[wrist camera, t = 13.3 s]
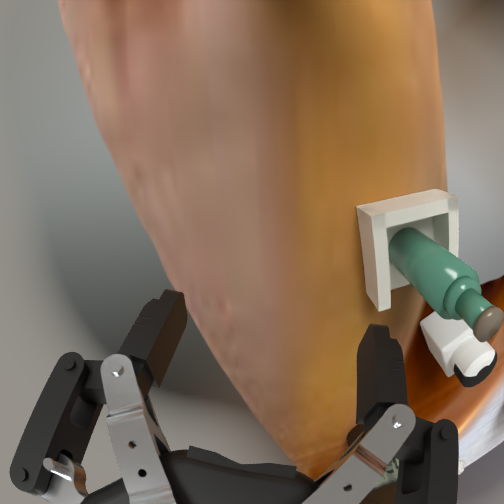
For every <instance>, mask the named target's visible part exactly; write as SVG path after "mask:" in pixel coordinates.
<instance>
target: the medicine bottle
mask: <svg viewBox="0 0 504 504" xmlns="http://www.w3.org/2000/svg"><path fill="white" fill-rule="evenodd" d="M420 326H421V329H422V331H423V334H424V337H425V339H426V342H427V345H428V348H429V350H430V352H431V353H432V355H433V356H434V357H435V359H436V360H437V362H438V363H439V365H440V366H441V368H442V369H443V371H444V372H445V374H446V375H447V376H448V377H450V376H452V375H453V374H454V373H455V375H456V376H457V378H458V379H459V380H460V382H461V383H462V385H463V386H464V387H473V386H475V385H477V384H479V383H480V382H482V381H483V380H484V379H485V378H486V377H487V376H488V375H489V374H490V373H491V371H492V370H493V368H494V366H495V364H496V361H497V353H496V351H495V350H494V349H493V348H492V347H491V346H490V344H489V343H488V342H487V341H486V342H479V341H478V340H477V339H476V338H475V336H474V335H473V330H472V329H471V328H470V327H469V326H468V325H467V324H466V323H465V322H464V321H463V319H462V320H454V319H450V320H446V319H443V318H441V317H440V316H439V315H438V314H437V313H436V311H434V312H433V313H431V314H430V315H429V316H427V317H426V318H425V319H423V320H422V321H420Z"/></svg>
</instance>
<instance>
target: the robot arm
mask: <svg viewBox="0 0 504 504" xmlns="http://www.w3.org/2000/svg"><path fill="white" fill-rule="evenodd" d="M186 324H187V310H186V305H185V299H184V294H183V293H182V292H178V291H172V290H168V289H166V290H165V291H164V292H163V294H162V295H161V297H160V299H159V300H158V299H152V300H151V301H150V302H148V303H147V304H146V305H145V306H144V307H143V309H142V311H141V312H140V314H139V317H138V318H137V319H136V321H135V324H134V325H133V326H132V328H131V330H130V332H129V333H128V335H127V337H126V339H125V341H124V342H123V344H122V346H121V348H120V350H119V351H118V352H117V354H114V355H111V356H109V357H108V358H106V359H105V360H102V361H95V360H84V359H83V358H82V357H81V355H80V354H78V353H76V352H69V353H66V354H64V355H63V356H61V357H60V359H59V360H58V362H57V364H56V366H55V367H54V370H53V371H52V373H51V375H50V377H49V379H48V381H47V383H46V385H45V387H44V389H43V391H42V393H41V395H40V397H39V399H38V401H37V404H36V406H35V408H34V410H33V412H32V414H31V417H30V419H29V421H28V424H27V426H26V428H25V430H24V433H23V435H22V438H21V440H20V443H19V445H18V448H17V450H16V453H15V456H14V458H13V461H12V464H11V467H10V477H11V480H12V482H13V484H14V485H15V486H16V487H17V488H18V489H20V490H21V491H24V492H27V493H30V494H32V495H34V496H37V497H40V498H43V499H45V500H46V501H48V502H50V503H51V504H359V503H360V502H361V501H362V500H363V499H364V498H365V497H366V495H367V494H368V493H369V492H370V491H371V490H372V489H373V487H374V486H375V485H376V484H377V483H378V482H379V480H380V479H381V478H382V477H383V475H384V474H385V472H386V469H385V468H386V466H387V465H388V463H389V462H390V461H391V460H392V458H396V459H399V467H398V477H397V486H396V494H395V501H394V504H456V503H457V490H458V466H459V446H458V430H457V427H456V426H455V424H454V423H453V422H452V421H450V420H447V419H442V420H439V421H438V422H436V423H433V422H430V421H426V420H424V419H421V418H418V417H417V416H415V415H414V412H413V411H412V410H411V409H410V408H409V406H408V401H407V389H406V378H405V371H404V362H403V353H402V348H401V346H400V345H399V343H398V341H397V339H390V335H389V328H388V326H386V325H377V324H370V325H369V327H368V329H367V331H366V333H365V335H364V337H363V339H362V340H361V342H360V344H359V347H358V352H357V413H356V424H364V431H363V432H362V433H361V435H360V436H359V437H358V438H357V439H356V440H355V441H354V442H353V444H352V445H351V446H350V447H349V448H348V449H347V450H346V451H345V452H344V453H343V454H342V455H341V456H340V458H339V459H338V460H337V461H336V462H335V463H333V464H332V465H331V466H330V467H329V468H328V469H327V470H326V471H324V472H323V473H322V474H321V475H320V476H319V477H318V478H317V479H316V480H315V481H313V480H312V479H311V478H309V477H308V476H306V475H305V474H303V473H301V472H298V471H296V467H297V466H288V465H280V464H273V463H263V464H239V463H236V462H234V461H232V460H230V459H228V458H226V457H224V456H222V455H220V454H218V453H216V452H212V451H208V450H204V449H201V448H197V447H193V446H189V450H177V451H171V450H170V448H169V446H168V443H167V441H166V438H165V436H164V434H163V432H162V430H161V428H160V425H159V423H158V420H157V417H156V414H155V411H154V408H153V405H152V402H151V399H150V395H149V390H150V388H151V386H155V387H159V388H160V385H161V383H162V381H163V378H164V376H165V373H166V371H167V369H168V366H169V364H170V362H171V359H172V357H173V355H174V353H175V350H176V348H177V346H178V343H179V341H180V339H181V336H182V334H183V332H184V330H185V327H186ZM104 404H107V407H108V412H109V415H108V416H107V418H106V420H107V426H108V430H109V434H110V438H111V442H112V446H113V449H114V453H115V456H116V459H117V463H118V466H119V468H120V472H121V475H122V478H120V479H119V480H117V481H115V482H113V483H111V484H109V485H107V486H105V487H103V488H101V489H99V490H97V491H95V492H93V493H91V494H88V492H87V490H86V486H85V482H86V473H85V470H84V468H83V467H82V466H81V462H82V460H83V457H84V454H85V451H86V449H87V446H88V443H89V440H90V438H91V435H92V433H93V430H94V427H95V425H96V422H97V420H98V417H99V415H100V412H101V410H102V407H103V405H104Z"/></svg>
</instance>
